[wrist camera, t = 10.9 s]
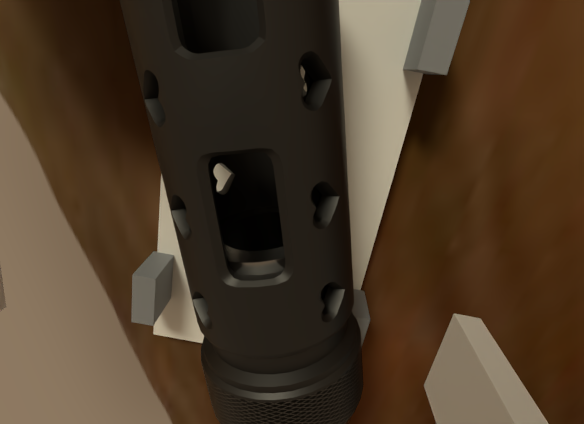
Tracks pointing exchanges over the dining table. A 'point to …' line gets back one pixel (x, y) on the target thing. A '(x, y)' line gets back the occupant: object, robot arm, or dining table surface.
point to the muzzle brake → (257, 197)
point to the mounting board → (359, 143)
